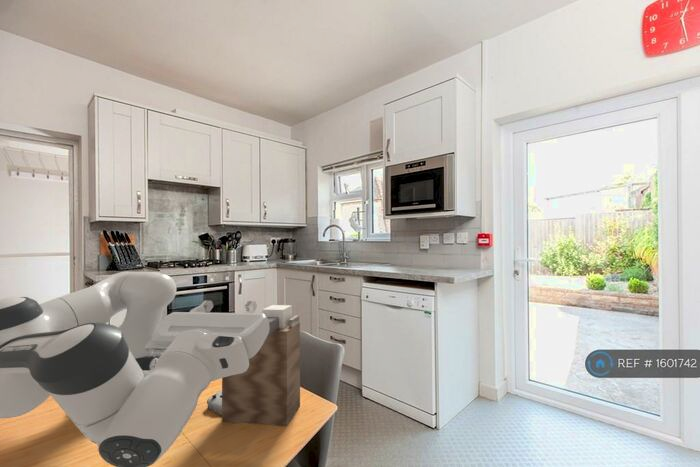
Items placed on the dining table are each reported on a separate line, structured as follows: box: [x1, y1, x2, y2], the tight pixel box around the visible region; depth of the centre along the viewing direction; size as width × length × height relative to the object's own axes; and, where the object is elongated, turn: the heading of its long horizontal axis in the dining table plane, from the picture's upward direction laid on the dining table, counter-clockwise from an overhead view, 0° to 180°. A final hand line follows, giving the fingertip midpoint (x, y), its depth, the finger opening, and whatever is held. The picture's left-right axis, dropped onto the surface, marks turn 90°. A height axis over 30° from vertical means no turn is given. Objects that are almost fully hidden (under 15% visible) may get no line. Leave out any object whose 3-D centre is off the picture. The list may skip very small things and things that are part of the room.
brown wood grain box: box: [221, 314, 301, 427], centre depth 92 cm, size 18×11×26 cm, turn 81°
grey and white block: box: [261, 304, 293, 335], centre depth 87 cm, size 6×19×5 cm, turn 171°
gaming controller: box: [206, 389, 222, 415], centre depth 97 cm, size 11×6×7 cm
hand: (230, 303), depth 67 cm, fingers open, 8 cm apart
